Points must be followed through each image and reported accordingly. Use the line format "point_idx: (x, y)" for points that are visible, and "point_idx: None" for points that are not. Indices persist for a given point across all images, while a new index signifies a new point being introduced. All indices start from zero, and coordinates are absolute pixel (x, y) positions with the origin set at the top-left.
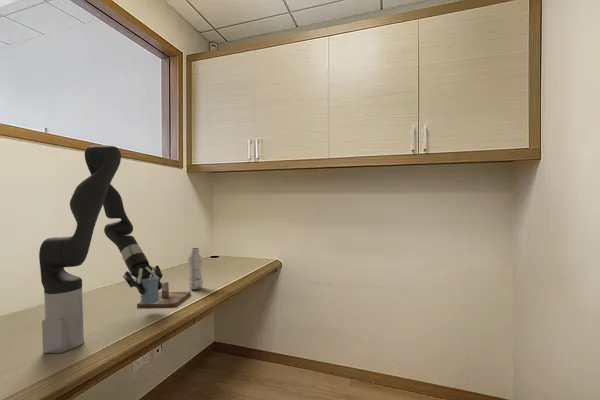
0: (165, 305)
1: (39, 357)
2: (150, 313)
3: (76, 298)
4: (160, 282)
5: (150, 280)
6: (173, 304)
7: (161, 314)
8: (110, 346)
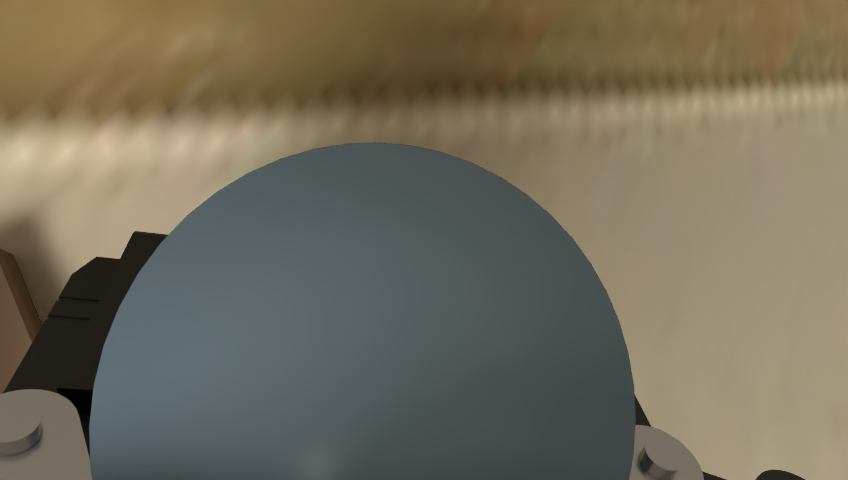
0: None
1: None
2: None
3: None
4: (48, 332)
5: (499, 189)
6: (8, 269)
7: None
8: (841, 61)
